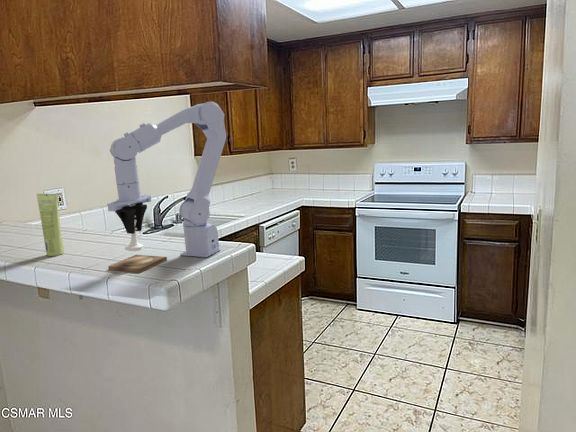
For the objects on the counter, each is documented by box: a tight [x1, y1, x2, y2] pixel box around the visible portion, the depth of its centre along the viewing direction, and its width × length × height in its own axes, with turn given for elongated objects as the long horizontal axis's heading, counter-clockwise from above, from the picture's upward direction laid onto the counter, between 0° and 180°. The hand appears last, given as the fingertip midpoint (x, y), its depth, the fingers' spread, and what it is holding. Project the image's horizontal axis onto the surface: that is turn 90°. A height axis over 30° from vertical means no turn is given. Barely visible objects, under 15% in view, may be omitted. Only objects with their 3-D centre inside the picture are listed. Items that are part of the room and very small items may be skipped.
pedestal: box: [107, 254, 168, 274], centre depth 122 cm, size 11×11×1 cm
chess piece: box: [124, 216, 145, 252], centre depth 121 cm, size 5×5×10 cm
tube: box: [36, 193, 65, 257], centre depth 137 cm, size 6×5×20 cm
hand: (134, 232), depth 121 cm, fingers closed on chess piece, 2 cm apart
